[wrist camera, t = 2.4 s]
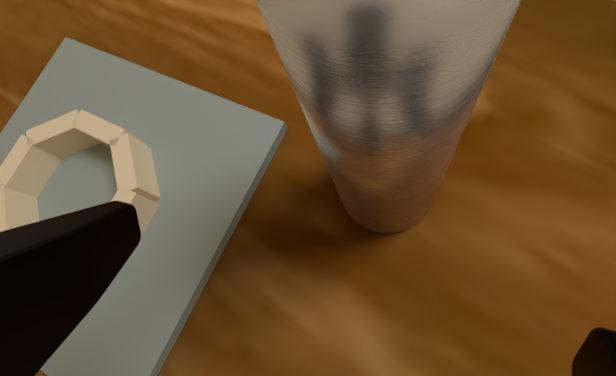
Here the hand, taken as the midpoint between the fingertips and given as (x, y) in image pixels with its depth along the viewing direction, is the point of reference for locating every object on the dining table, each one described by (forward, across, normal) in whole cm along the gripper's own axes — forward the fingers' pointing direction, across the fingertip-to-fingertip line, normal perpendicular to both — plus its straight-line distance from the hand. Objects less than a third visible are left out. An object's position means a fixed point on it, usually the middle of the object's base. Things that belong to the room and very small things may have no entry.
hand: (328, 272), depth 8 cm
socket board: (+8, +15, +7) cm, 19 cm away
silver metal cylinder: (+11, 0, +4) cm, 12 cm away
